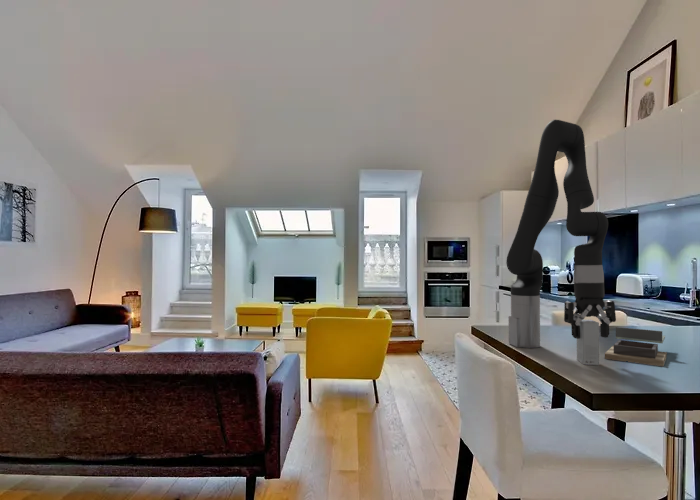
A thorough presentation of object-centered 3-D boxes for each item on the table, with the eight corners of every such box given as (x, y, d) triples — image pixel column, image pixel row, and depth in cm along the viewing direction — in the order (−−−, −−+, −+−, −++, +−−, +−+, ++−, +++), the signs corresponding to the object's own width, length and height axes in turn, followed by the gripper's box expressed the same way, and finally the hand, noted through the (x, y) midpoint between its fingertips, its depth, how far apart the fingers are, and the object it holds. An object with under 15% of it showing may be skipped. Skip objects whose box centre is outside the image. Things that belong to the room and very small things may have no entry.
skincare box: (599, 365, 117) (599, 322, 117) (583, 364, 118) (582, 322, 118) (592, 360, 123) (591, 319, 123) (576, 359, 124) (575, 318, 124)
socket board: (663, 366, 116) (663, 351, 116) (604, 358, 125) (604, 345, 125) (666, 357, 127) (666, 343, 127) (612, 350, 136) (612, 338, 136)
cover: (662, 343, 127) (662, 331, 127) (615, 338, 135) (615, 327, 135) (665, 337, 136) (664, 326, 136) (621, 333, 144) (621, 322, 144)
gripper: (602, 280, 125) (604, 334, 125) (557, 280, 124) (559, 336, 123) (621, 281, 118) (623, 339, 117) (573, 282, 116) (575, 341, 116)
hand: (590, 337), depth 120 cm, fingers open, 8 cm apart
